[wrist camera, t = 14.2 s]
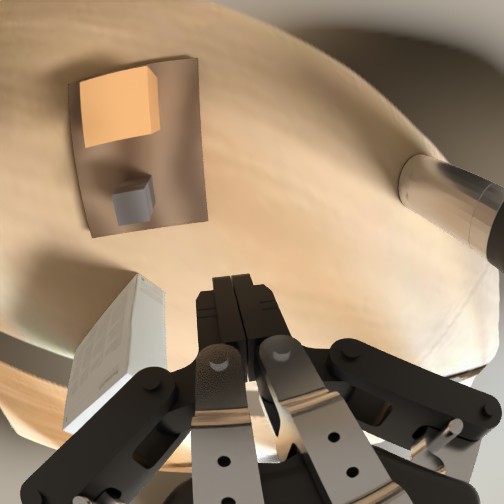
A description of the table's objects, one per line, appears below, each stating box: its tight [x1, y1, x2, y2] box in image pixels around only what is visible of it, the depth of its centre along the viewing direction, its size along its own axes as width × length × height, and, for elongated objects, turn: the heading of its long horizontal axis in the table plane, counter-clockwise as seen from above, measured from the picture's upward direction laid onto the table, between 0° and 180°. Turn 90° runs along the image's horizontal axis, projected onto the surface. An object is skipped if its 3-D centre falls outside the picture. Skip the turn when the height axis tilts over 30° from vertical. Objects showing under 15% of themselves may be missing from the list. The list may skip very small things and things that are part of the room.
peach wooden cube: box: [80, 66, 160, 148], centre depth 19 cm, size 6×6×7 cm
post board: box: [68, 58, 208, 238], centre depth 23 cm, size 14×18×7 cm
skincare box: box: [62, 273, 167, 435], centre depth 29 cm, size 21×6×16 cm, turn 132°
